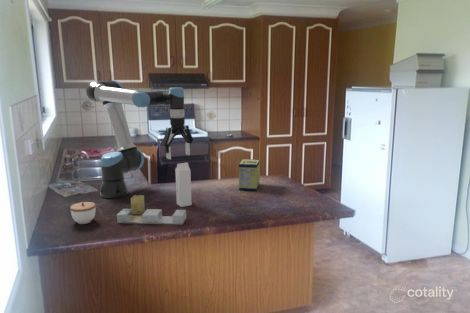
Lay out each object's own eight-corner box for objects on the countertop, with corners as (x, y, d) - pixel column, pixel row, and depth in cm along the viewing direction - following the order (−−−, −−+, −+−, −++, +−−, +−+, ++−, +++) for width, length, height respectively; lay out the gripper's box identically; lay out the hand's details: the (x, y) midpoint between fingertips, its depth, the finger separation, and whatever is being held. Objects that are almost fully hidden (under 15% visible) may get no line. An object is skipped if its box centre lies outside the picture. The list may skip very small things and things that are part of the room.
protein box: (259, 183, 234) (259, 159, 231) (256, 191, 219) (256, 165, 216) (242, 183, 236) (242, 158, 233) (238, 190, 221) (238, 164, 218)
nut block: (131, 214, 184) (130, 198, 182) (134, 210, 189) (133, 195, 187) (141, 214, 183) (140, 198, 182) (144, 210, 188) (143, 195, 187)
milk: (191, 205, 196) (190, 163, 191) (180, 207, 193) (179, 165, 189) (187, 201, 201) (186, 161, 197) (176, 203, 198) (174, 162, 194)
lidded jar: (76, 217, 180) (74, 198, 178) (99, 216, 181) (97, 198, 179) (68, 226, 169) (66, 206, 167) (93, 225, 170) (91, 205, 168)
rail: (117, 223, 173) (116, 214, 172) (123, 216, 180) (123, 208, 180) (182, 224, 170) (182, 216, 170) (186, 218, 178) (186, 209, 177)
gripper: (163, 119, 188) (164, 161, 193) (199, 115, 207) (199, 154, 211) (153, 118, 193) (155, 159, 197) (189, 114, 211) (190, 152, 216)
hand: (178, 156), depth 204 cm, fingers open, 13 cm apart
